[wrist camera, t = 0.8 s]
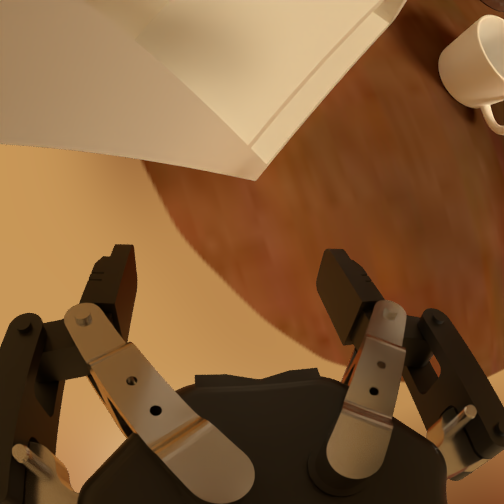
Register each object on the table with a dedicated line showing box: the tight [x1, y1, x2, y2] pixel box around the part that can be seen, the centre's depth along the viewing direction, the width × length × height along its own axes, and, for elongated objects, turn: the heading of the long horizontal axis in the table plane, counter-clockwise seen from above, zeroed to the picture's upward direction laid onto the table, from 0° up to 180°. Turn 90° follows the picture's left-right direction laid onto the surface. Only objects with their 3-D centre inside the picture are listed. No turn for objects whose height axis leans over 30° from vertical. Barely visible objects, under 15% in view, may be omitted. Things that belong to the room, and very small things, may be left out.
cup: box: [438, 15, 504, 135], centre depth 22 cm, size 8×12×10 cm
